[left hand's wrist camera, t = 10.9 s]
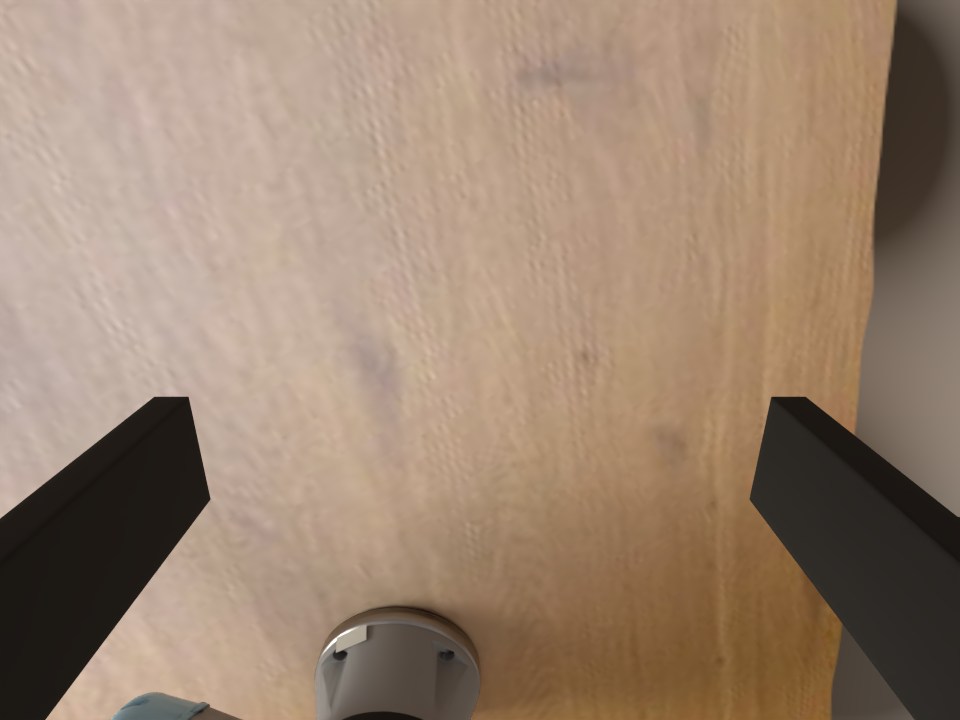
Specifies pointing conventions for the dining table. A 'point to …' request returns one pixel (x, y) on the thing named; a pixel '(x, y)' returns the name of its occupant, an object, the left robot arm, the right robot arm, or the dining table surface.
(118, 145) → the dining table surface
